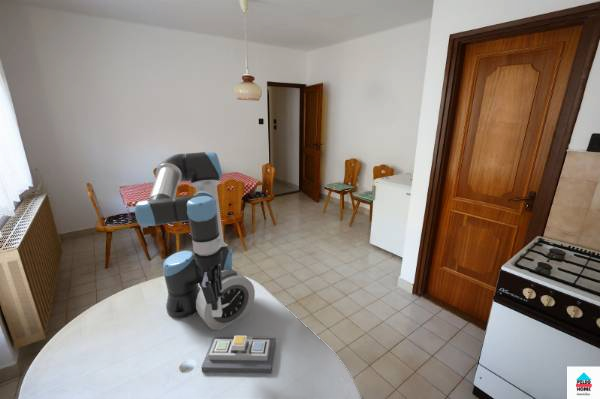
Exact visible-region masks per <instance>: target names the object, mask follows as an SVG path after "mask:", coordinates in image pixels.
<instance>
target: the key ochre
mask: <svg viewBox="0 0 600 399" xmlns="http://www.w3.org/2000/svg"><path fill="white" fill-rule="evenodd" d="M247 337H248V336H247V335H234V339H233V342H232V350H245V347H246V343H247Z"/></svg>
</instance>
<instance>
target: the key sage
mask: <svg viewBox="0 0 600 399" xmlns="http://www.w3.org/2000/svg"><path fill="white" fill-rule="evenodd" d="M229 348H230V341H218V342H217V345H216V347H215V350H214V353H228V351H229Z"/></svg>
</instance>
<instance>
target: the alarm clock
mask: <svg viewBox="0 0 600 399" xmlns="http://www.w3.org/2000/svg"><path fill="white" fill-rule="evenodd" d="M221 274H222V290H220V292H221V293H223V296H219V297H220V299H221V307H222V316H221V317H213V316H212V310H211V304H207V303H206V300H205V297H204V294H203V291H202V288H201V287H200V291H199V293H198V295H197V299H196V309H197V313H198V315H199V316H200V318H201V319H202V320H203V322H204V323H205V324H206V325H207V326H208V327H209V328H210V329H212V330H215V331H219V330H221V329H223V328H225V327H226V326H228V325H230V324H232V323H234V322H235V321H237V320H238V319H240V318H242V317H245V315H247V314H249V312H250V311H251V309H252V306H253V304H254V301H255V296H256V295H255V294H256V293H255V292H256V291H255V287H254V284H253V283H252V281H251V280H249V279H248V278H247V277H246V276H244V275H243V274H242V273H241V272H239V271H238V270H235V269H232V270H224V271H221Z"/></svg>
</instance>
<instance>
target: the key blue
mask: <svg viewBox="0 0 600 399" xmlns="http://www.w3.org/2000/svg"><path fill="white" fill-rule="evenodd" d="M264 351H265V342H253V344H252V349H251V353H252V354H264Z"/></svg>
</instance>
